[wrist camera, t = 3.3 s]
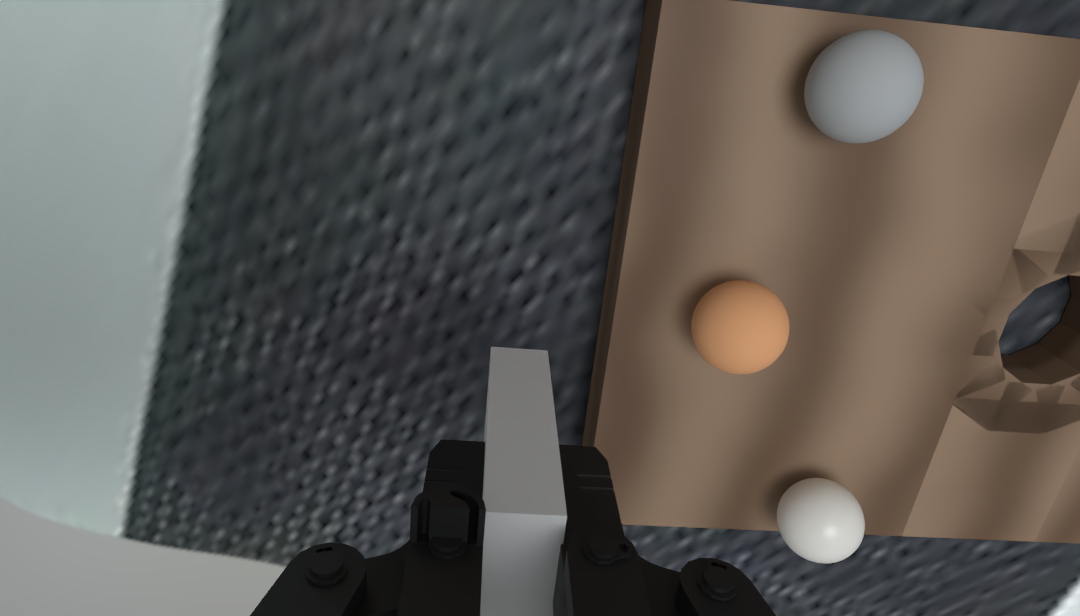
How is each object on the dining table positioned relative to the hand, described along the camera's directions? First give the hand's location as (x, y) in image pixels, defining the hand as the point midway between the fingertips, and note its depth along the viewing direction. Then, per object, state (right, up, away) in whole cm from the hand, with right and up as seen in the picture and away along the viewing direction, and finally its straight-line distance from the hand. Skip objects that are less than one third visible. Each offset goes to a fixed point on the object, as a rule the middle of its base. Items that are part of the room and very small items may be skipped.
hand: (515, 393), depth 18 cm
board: (+15, +3, +9) cm, 18 cm away
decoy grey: (+10, +9, +2) cm, 14 cm away
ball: (+7, +2, +5) cm, 9 cm away
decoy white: (+12, -6, +8) cm, 16 cm away
